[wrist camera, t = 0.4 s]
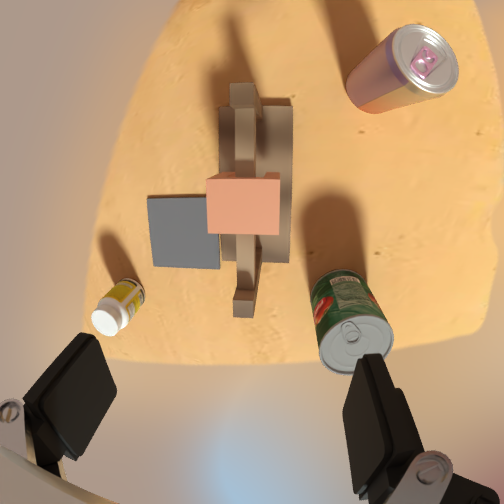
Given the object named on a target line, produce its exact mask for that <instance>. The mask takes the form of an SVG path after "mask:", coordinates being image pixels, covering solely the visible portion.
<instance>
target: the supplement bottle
mask: <svg viewBox="0 0 504 504" xmlns="http://www.w3.org/2000/svg"><path fill="white" fill-rule="evenodd" d="M144 301H145V292H144V290H143V288H142V286H141V285H140V284H139V283H138V282H136V281H135V280H133V279H130V278H125V279H122V280H120V281H119V282H118V283H117V284H116V285H115V286H114V287H113V288H112V289H111V290H110V291H109V292H108V293H107V294H106V295H105V296H104V297H103V298H102V299H101V300H100V301H99V303H98V306H97V308H96V309H95V310H94V311H93V313H92V317H91V318H92V322H93V325H94V326H95V328H96V329H97V330H98V331H99V332H100V333H102V334H104V335H106V336H114V335H115V334H116V333H117V332H118V331H119V330H120V329H122V328H124V327H125V326H126V325H127V324H128V323H129V321H130V320H131V319H132V317H133V316H134V315H135V313H136V312H137V311H138V310H139V308H140V307H141V306H142V304H143V303H144Z"/></svg>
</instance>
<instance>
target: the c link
mask: <svg viewBox="0 0 504 504" xmlns="http://www.w3.org/2000/svg"><path fill="white" fill-rule="evenodd" d="M206 199H207V224H208V233H212V234H256V235H279V215H280V172H266V174H265V176H264V177H235V172H221V173H219V174H217V175H214V176H212V177H210V178H208V179H206Z"/></svg>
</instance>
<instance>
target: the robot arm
mask: <svg viewBox="0 0 504 504" xmlns="http://www.w3.org/2000/svg"><path fill="white" fill-rule="evenodd" d="M116 394H117V388H116V385H115V383H114V381H113V378H112V376H111V373H110V370H109V368H108V365H107V363H106V360H105V357H104V354H103V352H102V349H101V346H100V343H99V341H98V340H97V339H96V337H95V336H94V335H92V334H87V333H82V332H81V333H79V334H78V335H77V336H76V337H75V338H74V339H73V340H72V341H71V342H70V344H69V345H68V346H67V347H66V348H65V349H64V350H63V351H62V353H61V354H60V355H59V356H58V357H57V358H56V359H55V360H54V362H53V363H52V364H51V365H50V366H49V367H48V368H47V369H46V371H45V372H44V373H43V374H42V375H41V376H40V378H39V379H38V380H37V381H36V383H35V384H34V385H33V386H32V387H31V388H30V390H29V391H28V392H27V393H26V394H25V396H24V397H23V400H24V402H25V404H24V405H23V404H22V403H21V402H20V401H19V400H17V399H7V400H4V401H3V402H1V403H0V504H119V503H116V502H113V501H110V500H108V499H105V498H103V497H100V496H98V495H95V494H93V493H91V492H88V491H86V490H84V489H82V488H80V487H77V486H75V485H73V484H71V483H69V482H68V481H67V477H66V474H65V470H64V466H63V462H62V457H63V455H65V456H66V457H68V458H70V459H72V460H74V461H77V459H78V457H79V456H82V455H83V453H84V452H85V449H86V448H87V446H88V444H89V442H90V440H91V439H92V437H93V435H94V433H95V431H96V430H97V428H98V426H99V424H100V423H101V421H102V419H103V417H104V416H105V414H106V412H107V410H108V409H109V407H110V405H111V403H112V402H113V400H114V398H115V397H116ZM343 422H344V428H345V435H346V440H347V448H348V455H349V462H350V469H351V476H352V484H353V491H354V494H359V500H366V499H368V501H369V504H500V500H499V497H498V494H497V493H496V492H495V491H494V490H492V489H491V488H489V487H486V486H483V485H481V484H478V483H476V482H473V481H471V480H469V479H466V478H464V477H462V476H459V475H457V474H455V473H453V464H452V462H451V460H450V459H449V458H448V457H447V456H446V455H445V454H443V453H441V452H439V451H426V452H425V451H424V448H423V445H422V442H421V439H420V437H419V434H418V431H417V428H416V425H415V422H414V420H413V417H412V414H411V412H410V409H409V406H408V404H407V401H406V398H405V396H404V394H403V391H402V390H401V389H400V388H395V387H394V385H393V382H392V380H391V377H390V375H389V372H388V369H387V367H386V364H385V362H384V359H383V357H382V355H381V354H380V353H372V354H364V355H363V357H362V358H359V359H358V360H357V363H356V366H355V370H354V374H353V377H352V381H351V384H350V387H349V391H348V394H347V398H346V401H345V404H344V407H343Z"/></svg>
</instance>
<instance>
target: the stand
mask: <svg viewBox="0 0 504 504" xmlns="http://www.w3.org/2000/svg"><path fill="white" fill-rule="evenodd" d="M229 105H230V106H226V107H219V173H221V172H235V177H264V176H265V174H266V172H280V215H279V235H256V234H221V248H222V261H237V287H236V291H235V294H234V298H233V317H240V318H253V316H254V310H255V303H256V297H257V290H258V284H259V277H260V271H261V264H262V262H273V263H289V253H290V231H291V202H292V159H293V106H262V103H261V101H260V98H259V95H258V93H257V90H256V88H255V85H254V83H253V82H250V83H230V102H229Z"/></svg>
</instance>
